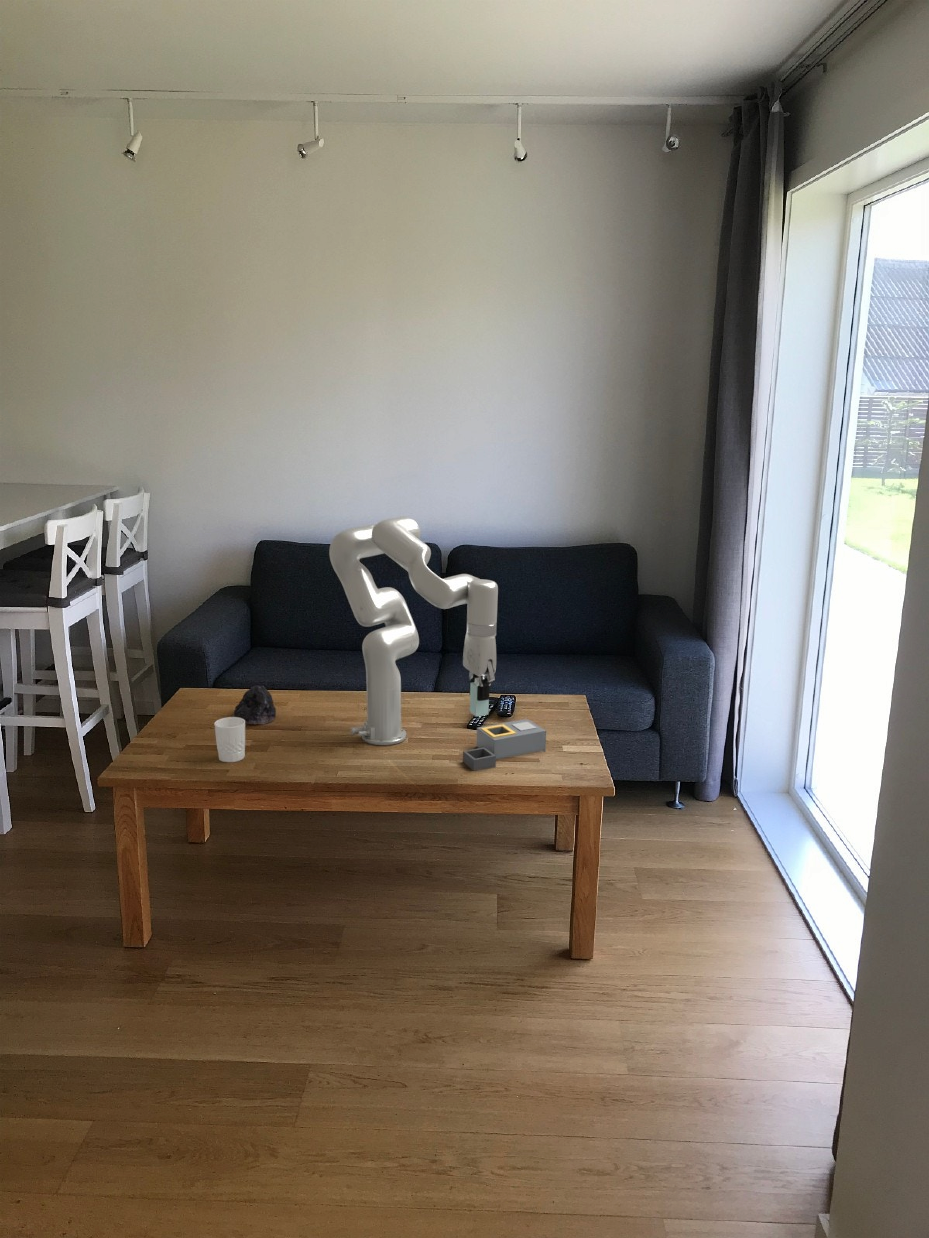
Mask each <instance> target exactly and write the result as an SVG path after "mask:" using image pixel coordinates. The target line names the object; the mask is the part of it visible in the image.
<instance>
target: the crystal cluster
mask: <svg viewBox="0 0 929 1238" xmlns="http://www.w3.org/2000/svg"><path fill="white" fill-rule="evenodd" d="M276 715H277V709H276V706H274V700H273V696H272V694H271V693H270V691H269V690H268V689H267V688H266V686H264V685H253V686H251V687H250V689H248V690H247V691H245V692H244V694H243V695H242V698H241V699H240V701H239V703H238V704H237V705H236V706H235V708H234V710H233V717H238V718H242V719H244V720H245V724H248V725H257V724H258V725H265V724H269V723H272V722H273V721H274V720H275V719H276Z"/></svg>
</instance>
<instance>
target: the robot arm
mask: <svg viewBox="0 0 929 1238" xmlns="http://www.w3.org/2000/svg"><path fill="white" fill-rule="evenodd" d="M421 536H422V532H421V528H420V525H419V524H418V523H417V522H416V520H414V519H413V518H410V517H408V516H400V517H399V516H398V517H393V518H388V519H384V520H381V521H379V522H378V523H375V524H371V525H370V524H369V525H364V526H357V527H353V528H352V527H351V528H348V529H345V530H342V531H340V532H339V533H337V534H336V535H335V536H334V537H333V538H332V540H331V542H330V545H329V550H328V551H329V553H328V555H329V560H330V563H331V566H332V568H333V570H334V572H335V574H336V575H337V577H338V579H339V581H340V583H341V585H342V587H343V590H344V592H345V595H346V598H347V600H348V603H349V605H350V608H351V611H352V612H353V616H354V618H355V619H356V621H357V623H358V624H359V625H360V626H362V627H373V626H377V625H381V624H383V623H384V625H385V626H383V627H381V628H378V629H375V630H373V631H371V632H369V633H368V634H367V635H366V636H365V637H364V639H363V641H362V645H361V647H362V648H361V650H362V656H363V660H364V664H365V677H366V679H365V680H366V720H365V721H363V724H361V725H360V726H355V727H354V726H353V727H350V734H351V735H352V736H353V735H354V736H355V735H358V737H361V739H362V740H363V741H364V742H366V743H367V744H369V745H375V746H391V745H396V744H399V743H402V742H404V741H405V740H406V739H407V735H408V734H407V731H406V730H405V729H403V728H402V679H401V673H400V670H399V668H398V666H397V665H396V664H397V663H396V661H397V660H400V659H402V658H404V657H408V656H410V655H412V654H413V653H415V652H416V651H417V649H418V647H419V645H420V637H419V633H418V630H417V627H416V624H415V622H414V620H413V617H412V614H411V613H410V610H409V607H408V604H407V601H406V600H405V598H404V596H403V595H402V594H401V593H400V592H399V591H398V590H397V589H395V588H394V587H390V586H389V587H387V586H386V587H381V588H380V587H379V588H378V586H377V585H376V583H375V581H374V578H373V575H372V574H371V572H370V570H369V569H368V568H367V567H366V566H365V565H364V564H363V563H361V562H360V560H361V559H364V558H369V557H374V556H379V555H384V554H385V555H386V556H388V557H389V558H390V559H391V560H392V561H394V562H395V563H397V564H398V565H399V566H400V567H401V568H403V569H404V570H405V571H407V572H408V578H409V580H410V583H411V585H412V587H413V589H414V590H415V592H416V593H417V594H418V595H420V596H421V597H422V598H424V600H426V601H427V602H428V603H430V604H431V605H433V606H434V607H436V608H438V609H443V610H446V609H451V608H453V607H458V606H460V605H466V604H467V607H466V608H467V609H466V610H467V613H466V633H465V636H464V637H465V638H464V644H463V645H464V646H463V654H462V655H463V656H462V666H463V667H464V668H465V669H466V670H467V671H468V674H469V675H468V679H469V684H470V683H473V682H475V678H479V686H478V690H477V700H478V701H483V700H488V699H489V700H490V690H491V689H490V688H491V687H490V686H491V685H492V682H493V681H495V679H496V678H495V673H496V669H497V644H496V643H497V642H496V636H497V623H498V622H497V621H498V620H497V619H498V598H499V597H498V595H499V586H498V584H497V582H495V581H494V580H490V579H482V578H481V579H480V578H479V577H476V576H473V575H472V574H468V573H461V574H456V575H452V576H448V577H444V578H441V577H440V576H438V575H437V574H436V573H435V572H433V571H432V570H431V569H430V568H429V567H428V566H427V565H428V564H429V561H430V559H431V555H432V551H431V548H430V546H428V545H427V544H426V543H425V542H423V541H422V540H421ZM483 677H484V680H483ZM468 688H469V689H468V691H469V693H468V694H469V695H470V687H468Z"/></svg>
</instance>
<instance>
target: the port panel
mask: <svg viewBox="0 0 929 1238" xmlns="http://www.w3.org/2000/svg"><path fill="white" fill-rule="evenodd" d="M546 740H547V730H545V729H544V728H542V727H541V726H540V725H538V724H536V723H535V722H534V721H532V720H530V719H528V718H525V719H520V720H513V721H508V722H502V723H495V724H489V725H484V726H480V727H476V747H477V749H478V748H483V747H485V748H486V749H487V750H489V751H490V752H491V753H493V754H494V755H496V760H500V759H506V758H510V757H515V756H522V755H525V754H530V753H535V752H542V751H543V752H546V749H547V748H546V745H547V743H546V742H547V741H546Z"/></svg>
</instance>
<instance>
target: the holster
mask: <svg viewBox="0 0 929 1238" xmlns="http://www.w3.org/2000/svg"><path fill="white" fill-rule="evenodd" d="M462 763H464V765H465V766H467V767H468V768H469V769H471V770H472V771H473V772H475V771H476V772H477V771H482V770H486V769H487V770H488V769H492V768H496V766H497V759H496V755H494V754H493V753H491V752H490V751H489V750H487V749H486V748H485V747H483V748H478V747H477V748H473V749H469V750H468V749H467V750H463V751H462Z"/></svg>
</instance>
